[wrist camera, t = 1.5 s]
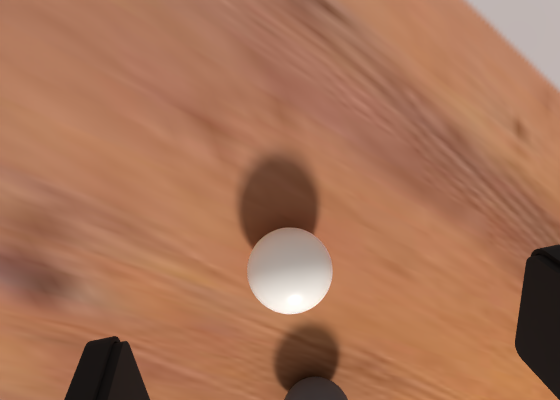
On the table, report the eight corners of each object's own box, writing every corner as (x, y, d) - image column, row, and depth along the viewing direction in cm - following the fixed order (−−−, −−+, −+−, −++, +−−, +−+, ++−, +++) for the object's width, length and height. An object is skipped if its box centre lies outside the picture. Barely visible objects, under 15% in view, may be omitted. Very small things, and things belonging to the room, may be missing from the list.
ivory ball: (235, 223, 27) (243, 268, 23) (314, 205, 28) (339, 245, 23) (251, 288, 30) (261, 342, 25) (323, 271, 30) (348, 320, 25)
